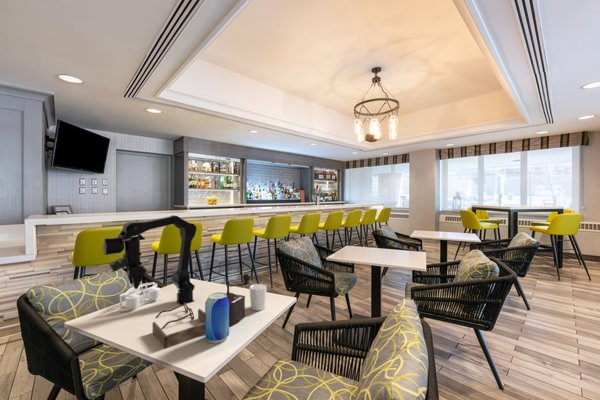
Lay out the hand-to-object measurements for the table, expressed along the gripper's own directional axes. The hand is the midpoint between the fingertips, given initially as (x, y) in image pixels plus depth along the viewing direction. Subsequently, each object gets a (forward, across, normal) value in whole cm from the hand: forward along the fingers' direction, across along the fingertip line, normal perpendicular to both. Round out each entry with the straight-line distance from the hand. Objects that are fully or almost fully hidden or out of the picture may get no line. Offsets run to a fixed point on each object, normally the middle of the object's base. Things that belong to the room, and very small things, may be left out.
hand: (133, 286), depth 119 cm
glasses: (+14, +15, +12) cm, 24 cm away
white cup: (+14, +30, +45) cm, 56 cm away
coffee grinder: (+14, +31, +31) cm, 46 cm away
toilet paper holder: (+14, -14, +5) cm, 20 cm away
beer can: (+14, +43, +18) cm, 49 cm away
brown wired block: (+13, +30, +11) cm, 34 cm away
